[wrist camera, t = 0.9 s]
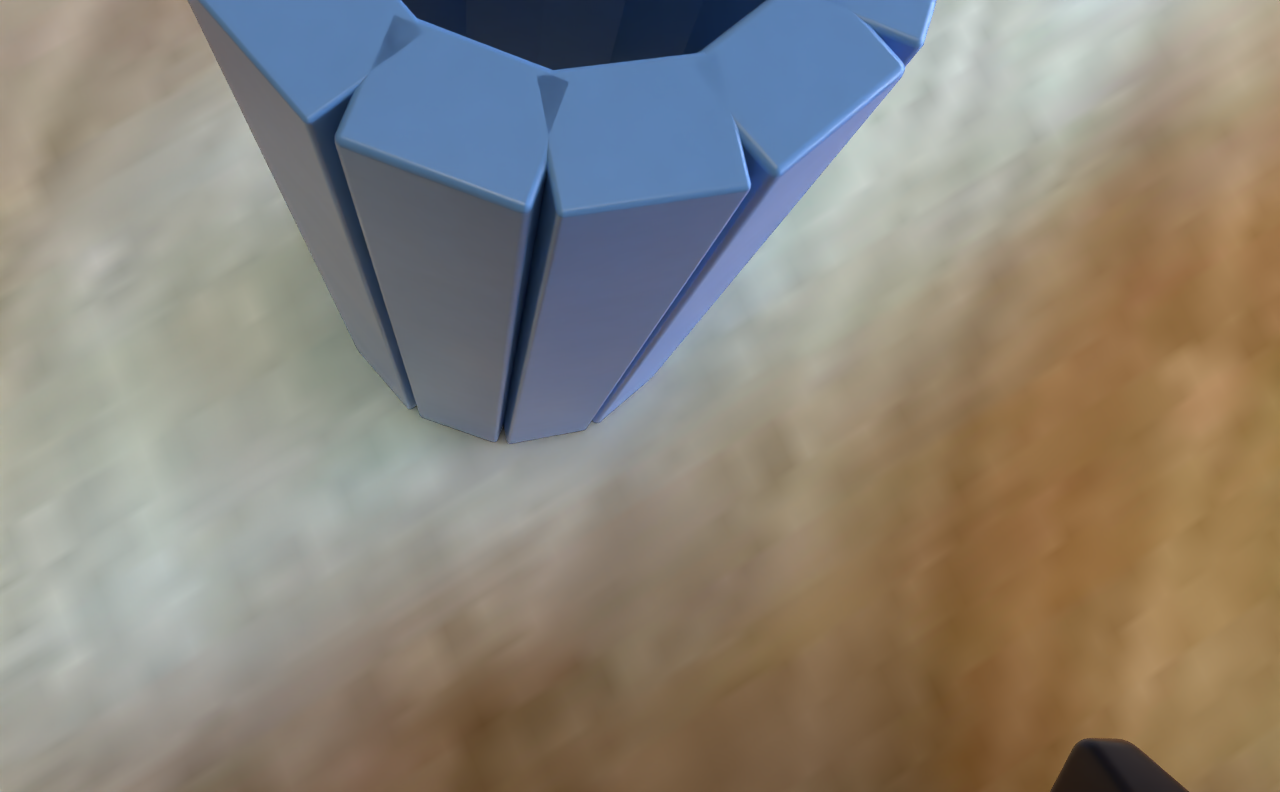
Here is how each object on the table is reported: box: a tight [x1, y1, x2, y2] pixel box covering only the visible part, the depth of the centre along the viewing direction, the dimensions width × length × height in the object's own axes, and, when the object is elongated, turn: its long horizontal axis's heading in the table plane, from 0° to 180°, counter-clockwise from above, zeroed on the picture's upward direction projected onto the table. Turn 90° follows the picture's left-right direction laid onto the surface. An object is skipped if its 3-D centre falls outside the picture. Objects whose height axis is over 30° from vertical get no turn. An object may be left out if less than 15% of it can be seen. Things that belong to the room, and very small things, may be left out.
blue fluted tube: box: [188, 0, 937, 444], centre depth 16 cm, size 7×7×14 cm
